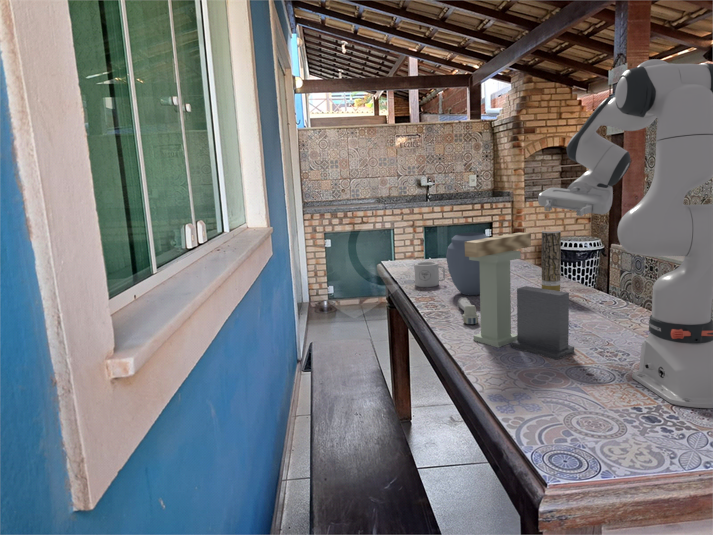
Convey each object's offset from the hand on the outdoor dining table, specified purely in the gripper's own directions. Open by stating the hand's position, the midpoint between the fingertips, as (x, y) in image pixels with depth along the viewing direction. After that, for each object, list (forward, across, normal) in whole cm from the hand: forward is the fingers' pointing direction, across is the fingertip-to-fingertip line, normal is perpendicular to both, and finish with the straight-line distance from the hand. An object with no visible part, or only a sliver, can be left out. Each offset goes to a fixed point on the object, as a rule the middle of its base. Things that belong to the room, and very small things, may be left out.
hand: (562, 211), depth 148 cm
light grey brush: (+12, -28, +39) cm, 50 cm away
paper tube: (-29, -18, +51) cm, 61 cm away
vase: (-15, -44, +50) cm, 69 cm away
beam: (+19, -10, +6) cm, 22 cm away
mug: (-19, -69, +55) cm, 91 cm away
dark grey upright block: (+28, +7, +28) cm, 40 cm away
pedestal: (+28, -6, +30) cm, 42 cm away
